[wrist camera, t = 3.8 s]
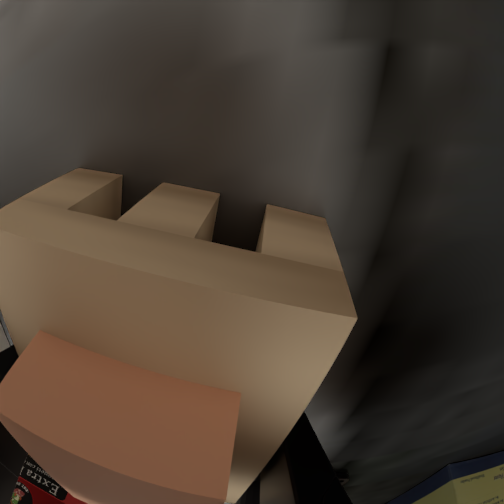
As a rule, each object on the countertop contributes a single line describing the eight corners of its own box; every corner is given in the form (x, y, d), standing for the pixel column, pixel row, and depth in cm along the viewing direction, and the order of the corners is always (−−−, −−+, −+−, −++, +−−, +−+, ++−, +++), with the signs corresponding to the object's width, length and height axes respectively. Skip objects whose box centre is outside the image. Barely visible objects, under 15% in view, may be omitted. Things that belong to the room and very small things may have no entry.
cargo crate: (207, 486, 8) (198, 537, 6) (92, 451, 8) (74, 497, 6) (241, 392, 5) (225, 500, 3) (39, 329, 5) (-14, 403, 3)
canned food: (78, 453, 17) (39, 557, 8) (109, 485, 21) (83, 568, 11) (14, 423, 18) (-28, 509, 8) (51, 460, 22) (21, 534, 12)
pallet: (243, 431, 12) (234, 503, 9) (105, 394, 12) (76, 457, 8) (325, 218, 7) (358, 318, 4) (78, 167, 7) (-22, 222, 4)
